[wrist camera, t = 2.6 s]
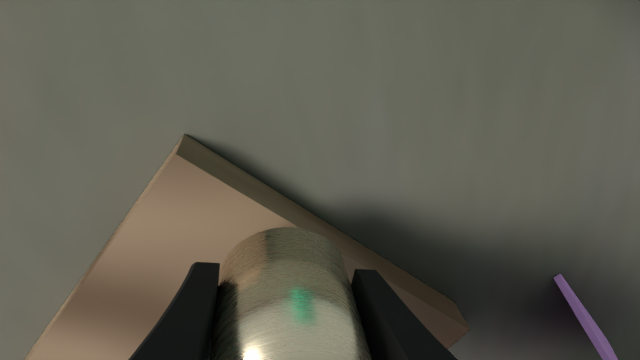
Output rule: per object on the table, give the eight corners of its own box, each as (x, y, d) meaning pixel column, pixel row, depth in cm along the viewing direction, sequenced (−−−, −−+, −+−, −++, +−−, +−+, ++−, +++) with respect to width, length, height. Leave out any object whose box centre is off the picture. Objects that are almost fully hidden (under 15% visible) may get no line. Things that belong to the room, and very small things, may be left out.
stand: (273, 460, 21) (274, 497, 20) (9, 379, 16) (-16, 421, 15) (454, 302, 18) (472, 333, 16) (184, 134, 13) (174, 157, 11)
